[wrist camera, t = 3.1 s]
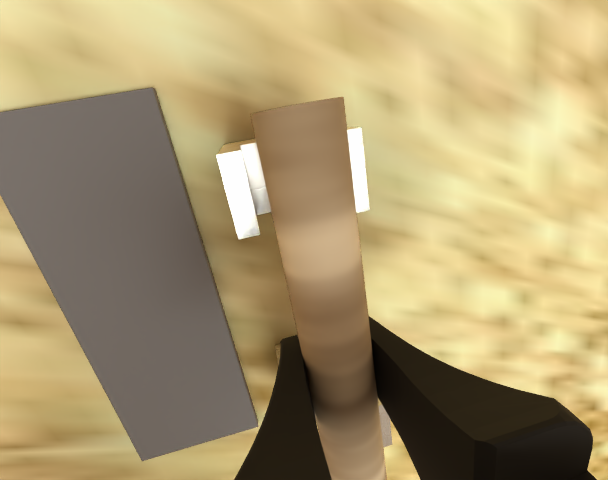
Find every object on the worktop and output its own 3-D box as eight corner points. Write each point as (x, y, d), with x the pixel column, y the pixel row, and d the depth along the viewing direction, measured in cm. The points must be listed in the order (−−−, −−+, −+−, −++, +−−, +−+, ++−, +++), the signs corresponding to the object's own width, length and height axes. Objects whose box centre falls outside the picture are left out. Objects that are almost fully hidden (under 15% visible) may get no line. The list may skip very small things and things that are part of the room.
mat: (257, 420, 23) (258, 426, 23) (144, 453, 22) (142, 461, 22) (155, 88, 15) (152, 87, 14) (-31, 119, 14) (-40, 118, 14)
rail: (379, 488, 16) (402, 546, 14) (333, 503, 16) (349, 566, 13) (329, 101, 9) (357, 93, 7) (249, 115, 9) (252, 112, 7)
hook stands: (351, 360, 23) (392, 444, 17) (283, 379, 22) (300, 473, 16) (318, 126, 17) (361, 127, 11) (224, 144, 16) (216, 155, 10)
